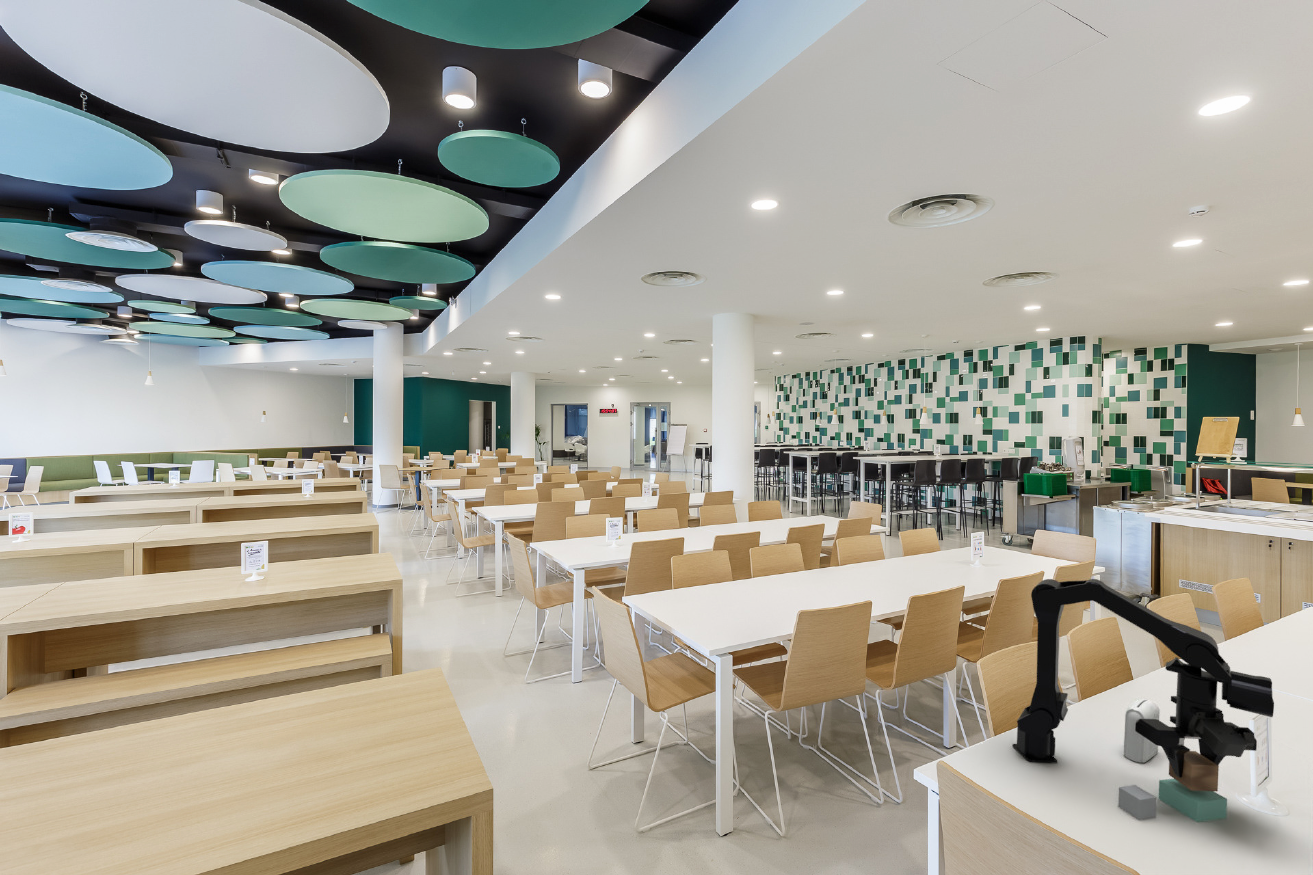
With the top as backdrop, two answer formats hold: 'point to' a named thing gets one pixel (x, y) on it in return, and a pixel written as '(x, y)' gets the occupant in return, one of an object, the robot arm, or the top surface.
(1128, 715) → the photo printer
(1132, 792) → the slate block
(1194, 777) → the walnut cube
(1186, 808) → the teal base block
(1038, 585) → the robot arm
